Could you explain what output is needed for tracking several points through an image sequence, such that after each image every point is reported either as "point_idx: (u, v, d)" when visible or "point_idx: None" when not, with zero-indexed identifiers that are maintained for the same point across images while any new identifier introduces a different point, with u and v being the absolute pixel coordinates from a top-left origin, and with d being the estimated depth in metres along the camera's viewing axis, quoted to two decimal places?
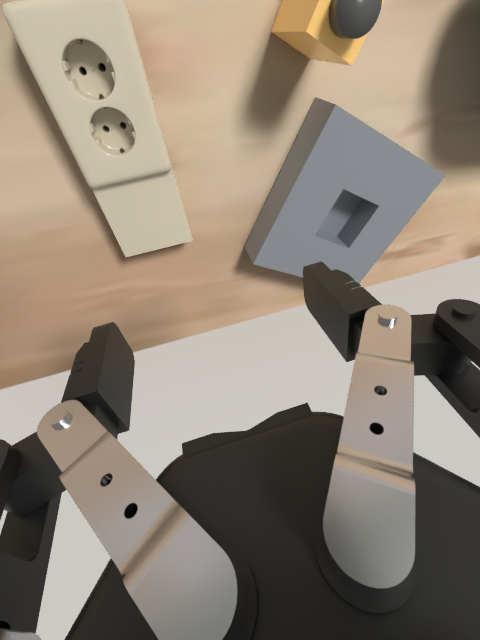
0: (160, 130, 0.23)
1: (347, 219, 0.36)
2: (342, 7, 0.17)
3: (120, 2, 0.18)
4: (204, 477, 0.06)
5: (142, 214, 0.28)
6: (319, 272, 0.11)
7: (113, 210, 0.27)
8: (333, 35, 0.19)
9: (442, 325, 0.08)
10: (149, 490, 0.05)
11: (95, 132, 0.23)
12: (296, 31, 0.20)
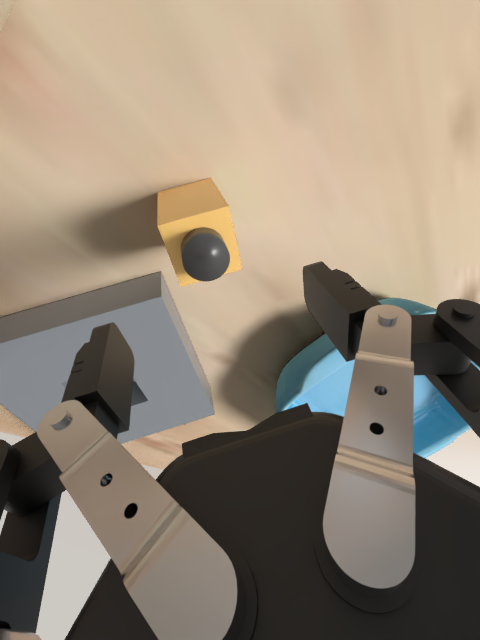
0: None
1: None
2: (192, 244, 0.15)
3: None
4: (204, 477, 0.06)
5: None
6: (319, 272, 0.11)
7: None
8: (179, 252, 0.17)
9: (442, 325, 0.08)
10: (149, 491, 0.05)
11: None
12: (158, 216, 0.17)
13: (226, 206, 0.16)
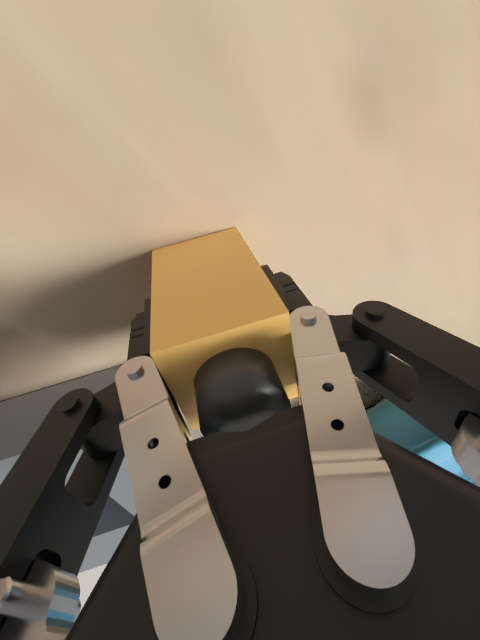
0: None
1: None
2: (220, 399, 0.08)
3: None
4: (204, 477, 0.06)
5: None
6: None
7: None
8: (191, 388, 0.09)
9: (362, 329, 0.09)
10: (185, 470, 0.06)
11: None
12: (151, 317, 0.09)
13: (284, 312, 0.08)
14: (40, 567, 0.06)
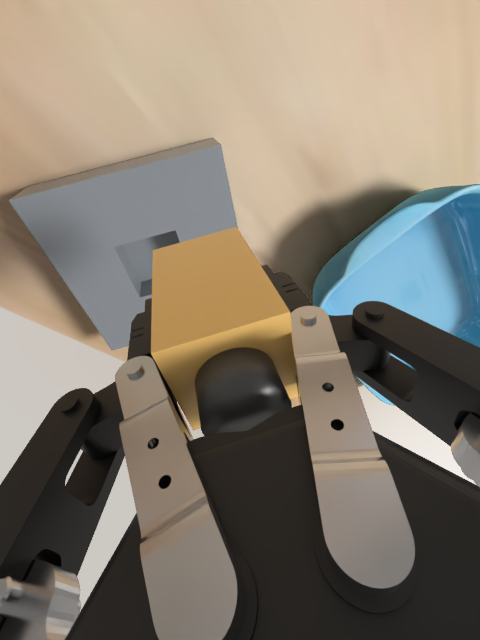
0: None
1: None
2: (221, 398, 0.08)
3: None
4: (204, 477, 0.06)
5: None
6: None
7: None
8: (192, 387, 0.09)
9: (362, 329, 0.09)
10: (184, 470, 0.06)
11: None
12: (152, 317, 0.09)
13: (285, 312, 0.08)
14: (40, 567, 0.06)
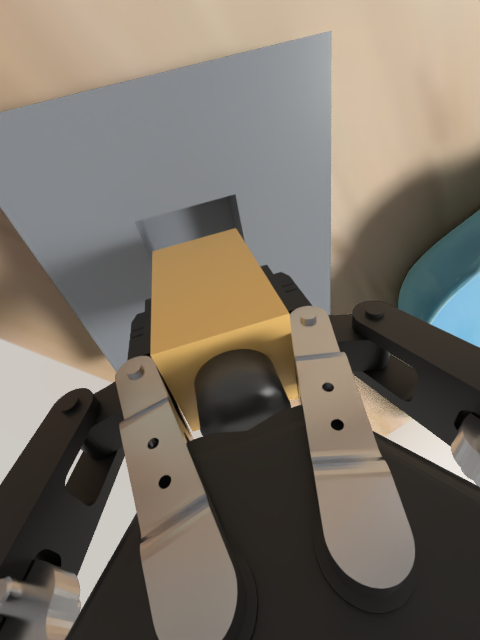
0: None
1: None
2: (221, 400, 0.08)
3: None
4: (204, 477, 0.06)
5: None
6: None
7: None
8: (191, 389, 0.09)
9: (362, 329, 0.09)
10: (184, 470, 0.06)
11: None
12: (152, 319, 0.09)
13: (284, 314, 0.08)
14: (40, 567, 0.06)
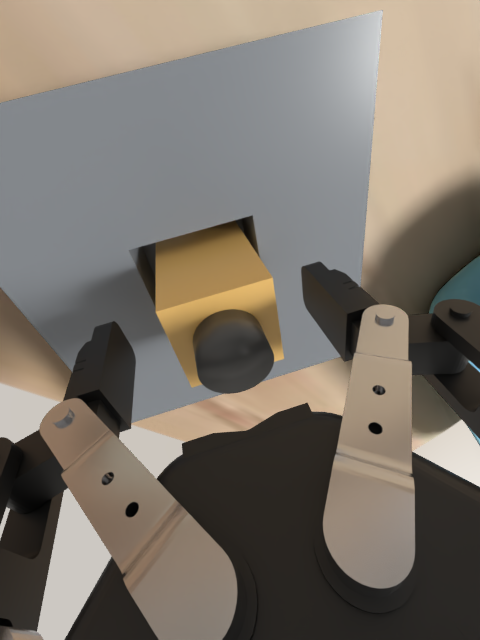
0: None
1: None
2: (214, 347, 0.09)
3: None
4: (204, 477, 0.06)
5: None
6: (317, 272, 0.11)
7: None
8: (190, 346, 0.11)
9: (439, 325, 0.08)
10: (150, 490, 0.05)
11: None
12: (156, 286, 0.11)
13: (269, 278, 0.10)
14: None
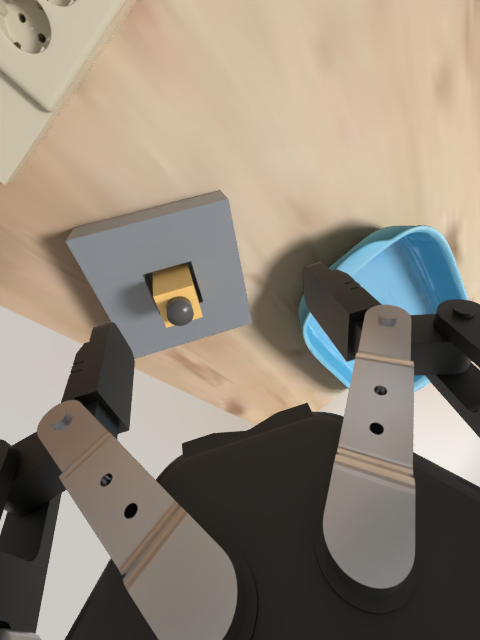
0: (70, 79, 0.22)
1: None
2: (172, 307, 0.28)
3: None
4: (204, 477, 0.06)
5: None
6: (319, 272, 0.11)
7: None
8: (165, 309, 0.30)
9: (442, 325, 0.08)
10: (149, 490, 0.05)
11: (7, 5, 0.20)
12: (153, 288, 0.30)
13: (191, 285, 0.29)
14: None
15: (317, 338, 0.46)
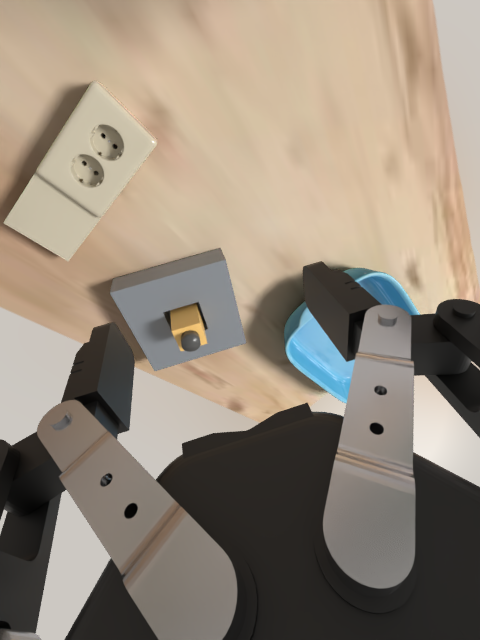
0: (114, 198, 0.33)
1: None
2: (185, 339, 0.39)
3: (151, 147, 0.31)
4: (204, 477, 0.06)
5: (51, 216, 0.33)
6: (319, 272, 0.11)
7: (34, 194, 0.31)
8: (180, 339, 0.41)
9: (442, 325, 0.08)
10: (149, 491, 0.05)
11: (76, 157, 0.31)
12: (171, 323, 0.41)
13: (199, 322, 0.40)
14: None
15: (301, 352, 0.57)
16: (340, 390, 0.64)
